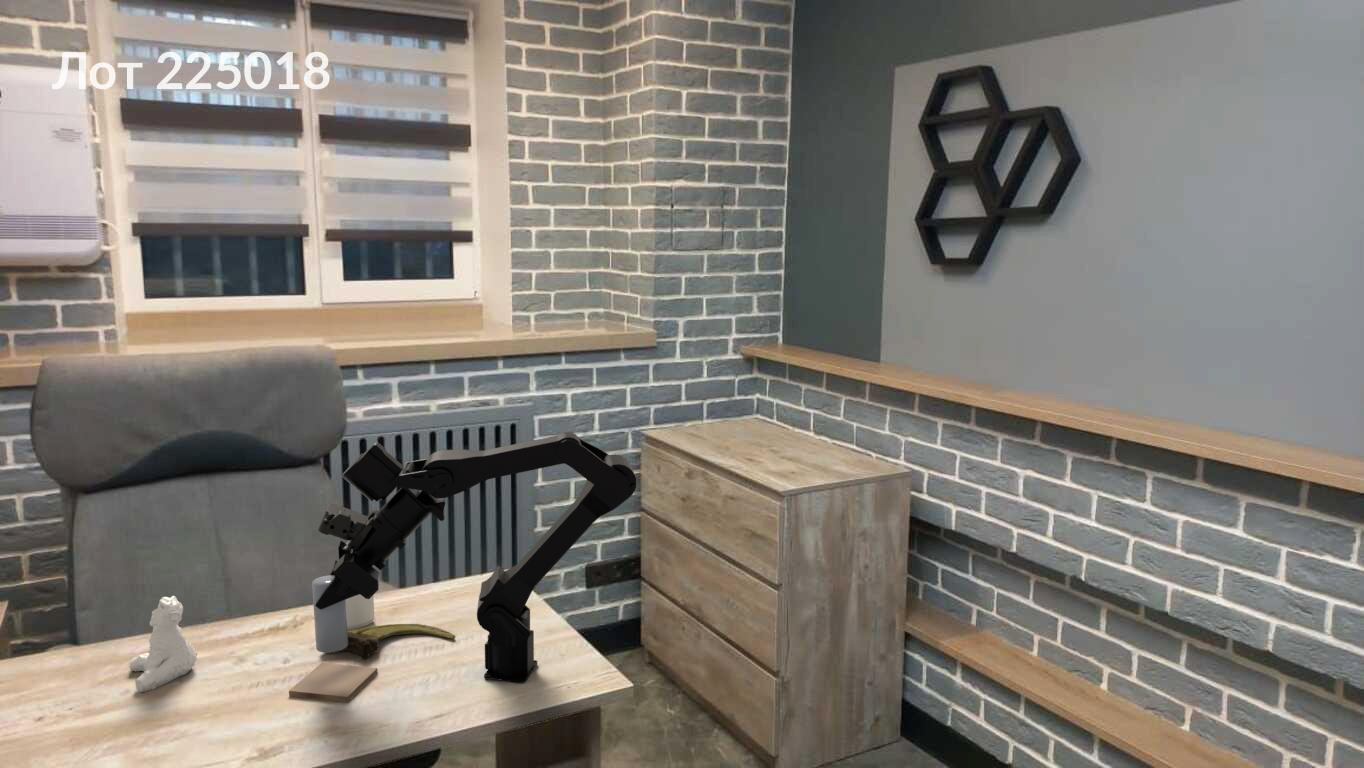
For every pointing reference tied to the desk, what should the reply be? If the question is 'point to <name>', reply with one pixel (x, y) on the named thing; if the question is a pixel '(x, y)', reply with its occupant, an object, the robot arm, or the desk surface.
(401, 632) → the claw
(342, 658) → the desk surface
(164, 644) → the white creature statuette
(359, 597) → the eye dropper bottle
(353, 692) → the coaster
